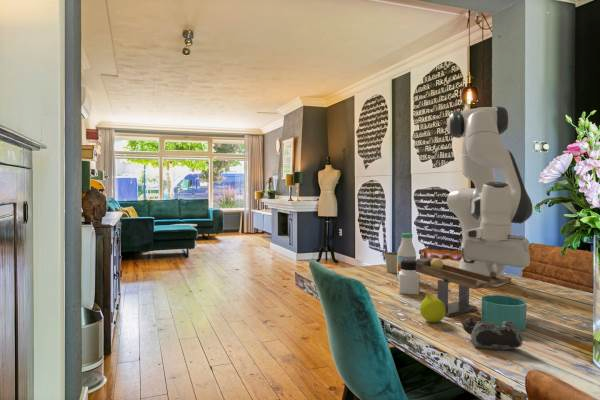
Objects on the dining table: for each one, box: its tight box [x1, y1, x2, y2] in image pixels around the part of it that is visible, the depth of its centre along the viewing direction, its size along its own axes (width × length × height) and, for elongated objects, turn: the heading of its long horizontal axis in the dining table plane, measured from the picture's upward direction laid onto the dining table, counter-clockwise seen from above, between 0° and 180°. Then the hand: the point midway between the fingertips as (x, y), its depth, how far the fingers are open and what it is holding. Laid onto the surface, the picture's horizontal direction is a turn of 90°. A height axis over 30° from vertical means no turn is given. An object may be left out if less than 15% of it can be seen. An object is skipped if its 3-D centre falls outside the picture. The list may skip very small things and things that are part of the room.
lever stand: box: [436, 279, 478, 318], centre depth 129 cm, size 14×7×10 cm, turn 123°
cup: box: [480, 294, 527, 332], centre depth 116 cm, size 11×11×7 cm
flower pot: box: [383, 251, 398, 274], centre depth 191 cm, size 9×9×9 cm
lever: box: [416, 256, 512, 290], centre depth 133 cm, size 19×22×5 cm
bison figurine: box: [461, 317, 524, 351], centre depth 101 cm, size 12×7×10 cm
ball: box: [430, 257, 444, 269], centre depth 135 cm, size 4×4×4 cm
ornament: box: [419, 290, 446, 323], centre depth 118 cm, size 7×7×10 cm
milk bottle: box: [396, 232, 417, 282], centre depth 172 cm, size 8×8×20 cm
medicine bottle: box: [398, 260, 421, 295], centre depth 153 cm, size 7×7×12 cm
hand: (494, 277), depth 128 cm, fingers closed
